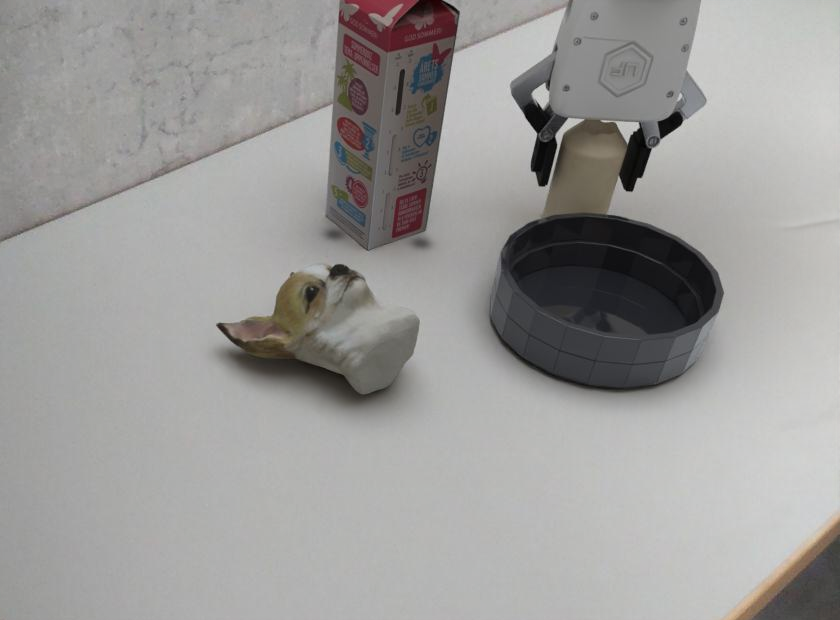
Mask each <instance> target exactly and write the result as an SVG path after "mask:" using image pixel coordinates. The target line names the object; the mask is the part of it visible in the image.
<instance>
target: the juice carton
mask: <svg viewBox="0 0 840 620" xmlns="http://www.w3.org/2000/svg"><path fill="white" fill-rule="evenodd" d="M460 15H461V11H460V10H459V9H458V8H457V7H456V6H454V5H453V4H451V3H449V2H448V1H445V0H339V6H338V19H337V35H336V50H335V64H334V65H335V66H334V79H333V81H334V82H333V95H332V109H331V125H330V126H331V127H330V137H329V138H330V141H329V155H328V156H329V157H328V171H327V185H326V200H325V217H326V218H328V219H329V220H330V221H332V222H333V223H334V224H335V225H337V226H338V228H340V229H341V230H342V231H344V233H345V234H347V235H348V236H350V237H351V238H352V239H353V240H354V241H356V242H357V243H358V244H359V245H360V246H362V247H363V248H364V249H365V250H366V251H370V250H373V249H375V248H378V247H381V246H384V245H387V244H391V243H393V242H396V241H399V240H401V239H405V238H408V237H411V236H413V235H417V234H419V233H422V232H424V231H426V230H427V227H428V222H429V221H428V220H429V214H430V210H431V209H430V207H431V201H432V195H433V189H434V182H435V177H436V176H435V175H436V170H437V163H438V157H439V150H440V143H441V137H442V130H443V125H444V118H445V113H446V112H445V111H446V104H447V99H448V92H449V86H450V80H451V72H452V67H453V59H454V53H455V47H456V40H457V33H458V28H459V21H460Z"/></svg>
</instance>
